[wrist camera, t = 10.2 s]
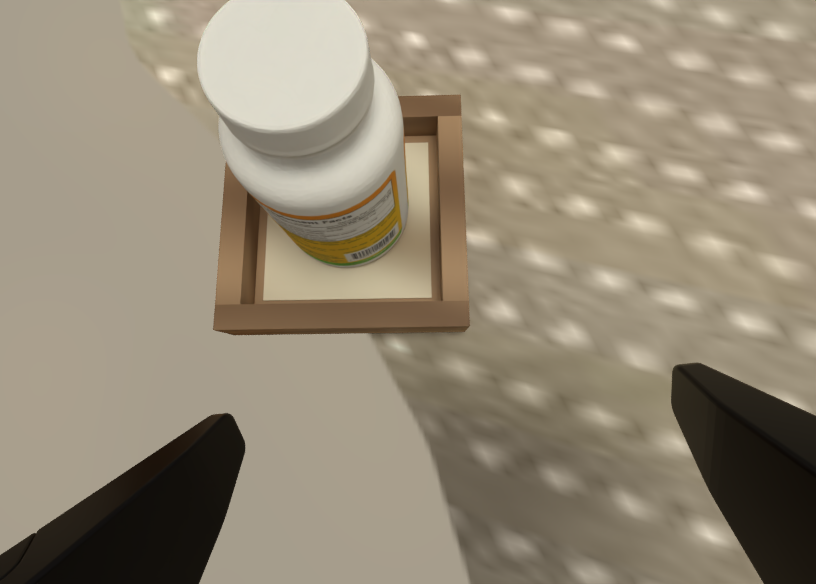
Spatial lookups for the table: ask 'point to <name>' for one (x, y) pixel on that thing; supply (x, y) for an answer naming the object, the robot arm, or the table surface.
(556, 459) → the table surface
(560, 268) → the table surface
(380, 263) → the tray
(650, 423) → the table surface
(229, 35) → the supplement bottle
